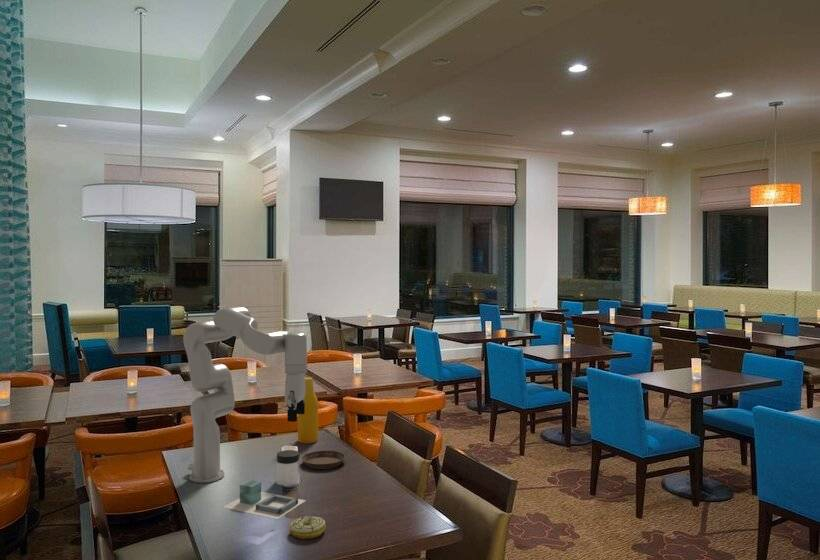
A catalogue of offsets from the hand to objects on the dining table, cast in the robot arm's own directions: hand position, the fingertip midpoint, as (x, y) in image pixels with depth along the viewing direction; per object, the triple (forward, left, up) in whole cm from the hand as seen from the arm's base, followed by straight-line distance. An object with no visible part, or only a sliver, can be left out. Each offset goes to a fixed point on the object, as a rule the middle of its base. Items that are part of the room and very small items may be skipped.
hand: (296, 417), depth 206 cm
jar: (-10, +9, -29) cm, 32 cm away
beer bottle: (-34, +58, -29) cm, 73 cm away
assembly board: (-5, -11, -28) cm, 31 cm away
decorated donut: (+18, -20, -29) cm, 40 cm away
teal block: (-11, -11, -27) cm, 31 cm away
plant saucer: (-11, +35, -29) cm, 46 cm away
